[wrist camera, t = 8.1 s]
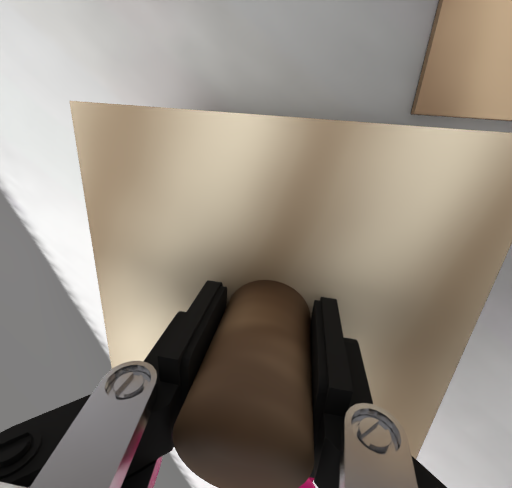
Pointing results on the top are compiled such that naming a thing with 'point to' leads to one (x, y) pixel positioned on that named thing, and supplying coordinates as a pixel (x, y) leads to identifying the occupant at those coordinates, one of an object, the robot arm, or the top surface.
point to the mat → (468, 62)
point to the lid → (291, 262)
